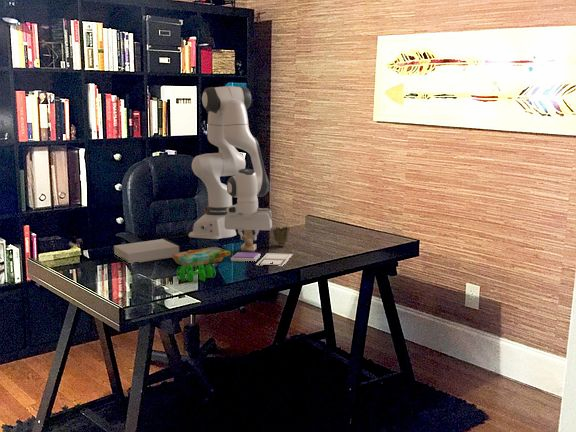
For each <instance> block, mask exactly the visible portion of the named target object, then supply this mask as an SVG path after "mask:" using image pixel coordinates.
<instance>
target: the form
mask: <svg viewBox="0 0 576 432" xmlns="http://www.w3.org/2000/svg"><path fill="white" fill-rule="evenodd" d="M293 255H294V254H293V253H273V252H267V253H265V255H264V256H263V257H262V258H261V259H260V260H258V261H257V263H255V266H263V265H278V266H277V267H284V266H285V265H286V264H287V262H288V261H289V260H290V259H291V257H292V256H293ZM289 258H290V259H289ZM272 262H273V264H270V263H272ZM259 264H260V265H259ZM284 264H285V265H284ZM283 265H284V266H283Z"/></svg>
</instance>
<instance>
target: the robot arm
mask: <svg viewBox="0 0 576 432" xmlns="http://www.w3.org/2000/svg"><path fill="white" fill-rule="evenodd" d="M201 101H202V106H203V108H204V110H205V111H208V113H207V140H208V142H209V143H210V144H211V145H214V146H215V147H217V148H218V152H212V153H203V154H199V155H196V156H195V157H194V158H192V162H191V169H192V172H193V174H194V175H195V176H196V177H198V178H199V179H200V180H201V181H202V183H203V184H204V185H205V187H206V190H207V199H208V202H207V203H208V205H206V207H204V209H203V212H204V213H205V214H203V215H202V216H200V218H198V219H197V220H196V221H195V222H194V223H193V228H192V229H193V230H192V231H190V232H189V233H188V237H189V238H194V239H209V240H219V239H228V238H232V237H235V236H237V234H238V235H239V236H240V240H241V241H244V233H243V231H244V230H253V231H254V234H253V236H252V240H253V241H257V236H258V234H259V232H260V231H270V230H272V229H273V222H272V217H273V211H272V210H271V209H269V207H266V208H265V207H259V199H258V198H263V197H265V195H266V196H267V194H268V193H269V191H270V182H269V181H270V180H269V177H268V175H267V172H266V167H265V164H264V160H263V156H262V152H261V148H260V145H259V141H258V139H257V138H256V137H255V136H253V135H252V133H251V130H250V127H249V118H248V111H247V110H248V109H249V108H250V106H251V104H252V94H251V90H250V89H249V88H248V87H244V86H233V85H226V86H218V87H217V86H216V87H214V86H211V87H206V88H205V89H204V90H203V92H202V96H201ZM238 149H240V150H243V151H245V152H246V153H248V154H249V156H250V159H251V164H252V168H253V169H251V168H246V165H247V164H246V163H247V162H246V159H245V157H244V156H243V154H242V153H240V152H239V151H238ZM229 176H230V177H229ZM221 177H229V178H228V180H227V182H226V184H225V183H222V181H221ZM233 198H237V199H236V203H234V204H233ZM236 230H237V231H236Z"/></svg>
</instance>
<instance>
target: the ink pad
mask: <svg viewBox="0 0 576 432" xmlns="http://www.w3.org/2000/svg"><path fill="white" fill-rule="evenodd" d="M261 254H262V253H259V252H241V251H238V252H236V253H235V254H234V255H232V257H230V261H231V262H245V261H246V263H247V261H248V262H249V261H251V262H252V261H253V262H254V261H255V262H257V260H259V259H260V258H261V257H260V256H261ZM251 262H249V263H251ZM253 262H252V263H253ZM255 262H254V263H255Z"/></svg>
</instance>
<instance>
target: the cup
mask: <svg viewBox="0 0 576 432" xmlns="http://www.w3.org/2000/svg"><path fill="white" fill-rule="evenodd" d="M272 234H273V240H274V241H275V242H276V243H277V244H276V245H277V246H278V247H281V248H282V247H285V246H286V245H287V244H286V243H287V242H288V240H289V239H290V228H289V227H287V226H283V227H282V228H281V227H280V226H276V227H274V228H272Z"/></svg>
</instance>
